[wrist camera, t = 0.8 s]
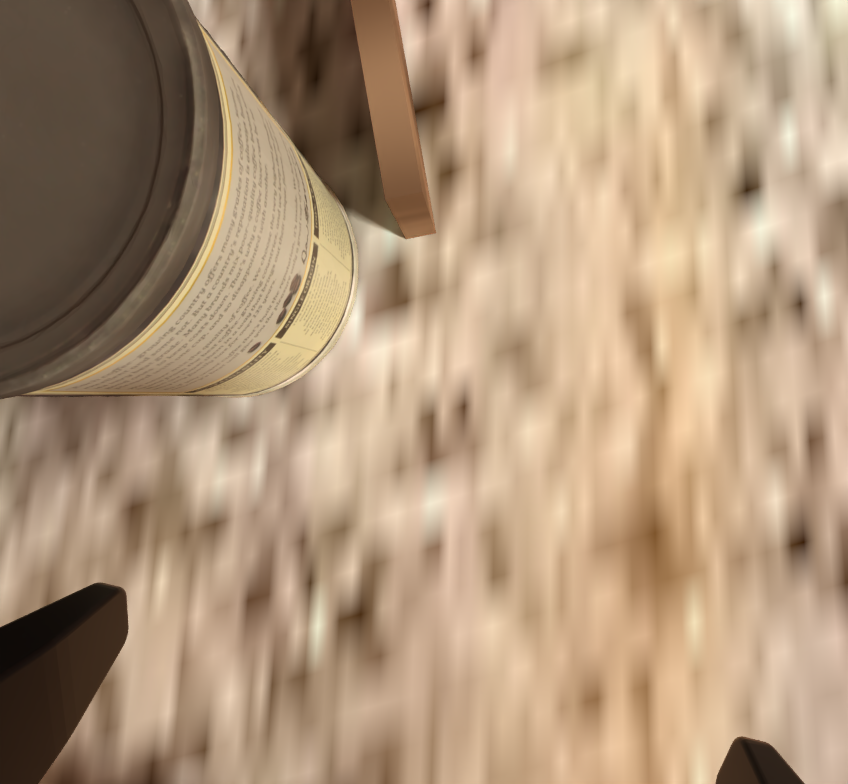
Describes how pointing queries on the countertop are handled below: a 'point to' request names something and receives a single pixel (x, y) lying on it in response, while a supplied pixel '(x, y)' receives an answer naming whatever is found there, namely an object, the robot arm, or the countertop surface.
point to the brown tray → (393, 115)
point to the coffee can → (154, 213)
